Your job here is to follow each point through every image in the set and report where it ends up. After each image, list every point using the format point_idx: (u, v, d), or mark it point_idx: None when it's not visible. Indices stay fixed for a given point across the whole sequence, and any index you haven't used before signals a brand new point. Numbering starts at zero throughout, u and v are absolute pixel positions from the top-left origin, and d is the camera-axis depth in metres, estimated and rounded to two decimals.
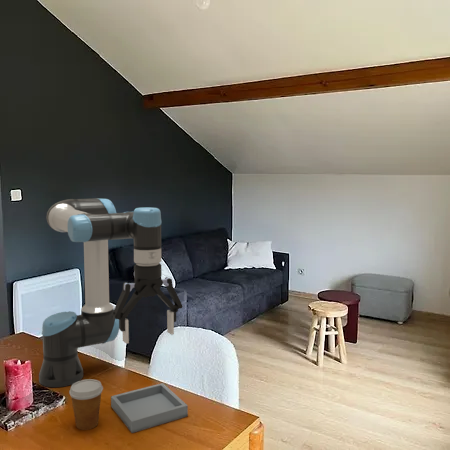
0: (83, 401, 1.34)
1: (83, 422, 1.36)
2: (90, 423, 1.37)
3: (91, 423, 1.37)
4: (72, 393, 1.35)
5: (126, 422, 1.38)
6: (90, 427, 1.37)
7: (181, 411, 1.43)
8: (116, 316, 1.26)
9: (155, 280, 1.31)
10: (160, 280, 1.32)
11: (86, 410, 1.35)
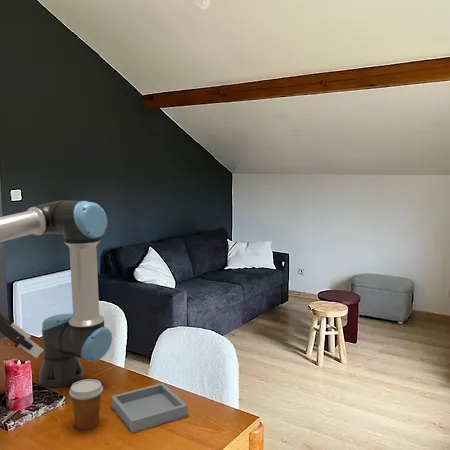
0: (83, 401, 1.34)
1: (83, 422, 1.36)
2: (90, 423, 1.37)
3: (91, 423, 1.37)
4: (72, 393, 1.35)
5: (126, 422, 1.38)
6: (90, 427, 1.37)
7: (181, 411, 1.43)
8: None
9: None
10: None
11: (86, 410, 1.35)
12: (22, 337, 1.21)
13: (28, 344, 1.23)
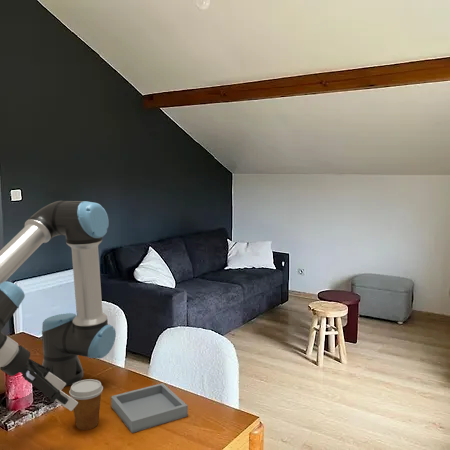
0: (83, 401, 1.34)
1: (83, 422, 1.36)
2: (90, 423, 1.37)
3: (91, 423, 1.37)
4: (72, 393, 1.35)
5: (126, 422, 1.38)
6: (90, 427, 1.37)
7: (181, 411, 1.43)
8: None
9: None
10: (23, 374, 1.24)
11: (86, 410, 1.35)
12: (58, 393, 1.23)
13: (63, 399, 1.26)
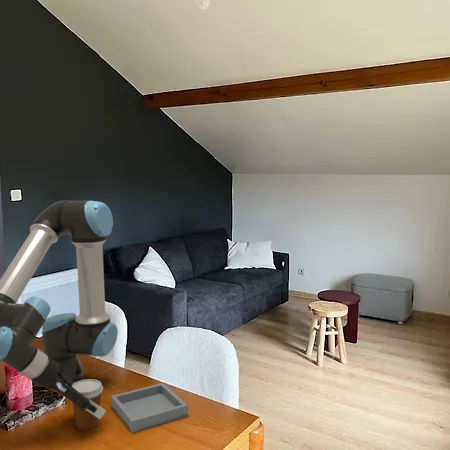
0: None
1: (83, 422, 1.36)
2: (90, 423, 1.37)
3: (91, 423, 1.37)
4: None
5: (126, 422, 1.38)
6: (90, 427, 1.37)
7: (181, 411, 1.43)
8: None
9: None
10: (53, 385, 1.29)
11: (86, 410, 1.35)
12: (88, 403, 1.30)
13: (93, 407, 1.33)
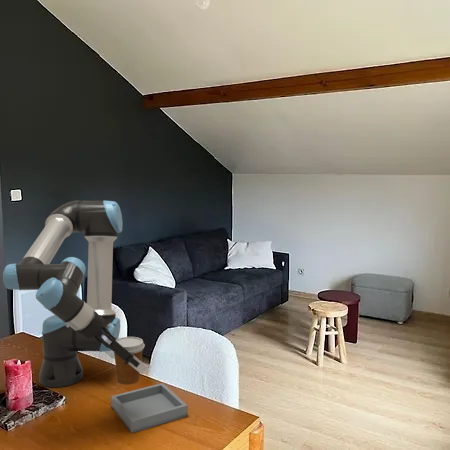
0: None
1: (125, 377, 1.38)
2: (132, 378, 1.39)
3: (132, 378, 1.39)
4: None
5: (126, 422, 1.38)
6: (132, 382, 1.39)
7: (181, 411, 1.43)
8: None
9: None
10: (98, 337, 1.32)
11: None
12: (132, 356, 1.33)
13: (136, 362, 1.35)
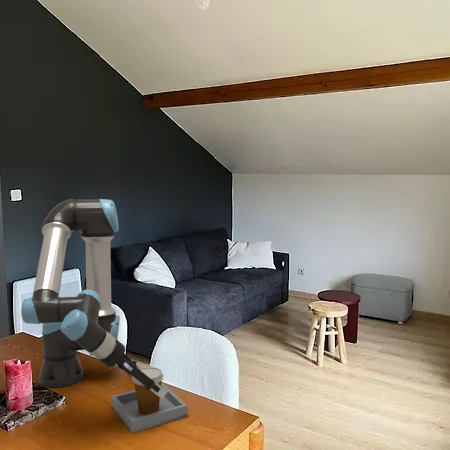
0: None
1: (146, 408, 1.43)
2: (153, 408, 1.44)
3: (153, 408, 1.44)
4: (136, 380, 1.42)
5: (126, 422, 1.38)
6: (153, 412, 1.44)
7: (181, 411, 1.43)
8: None
9: None
10: (120, 365, 1.37)
11: (150, 395, 1.42)
12: (153, 382, 1.36)
13: (157, 387, 1.39)
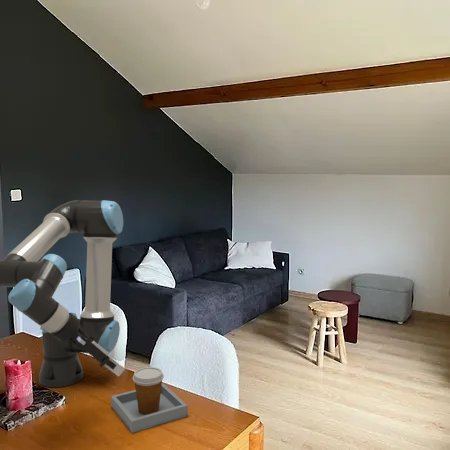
0: (147, 387, 1.41)
1: (146, 407, 1.43)
2: (153, 408, 1.44)
3: (153, 408, 1.44)
4: (136, 380, 1.42)
5: (126, 422, 1.38)
6: (152, 412, 1.44)
7: (181, 411, 1.43)
8: None
9: None
10: (73, 339, 1.29)
11: (150, 395, 1.42)
12: (108, 357, 1.28)
13: (112, 364, 1.30)
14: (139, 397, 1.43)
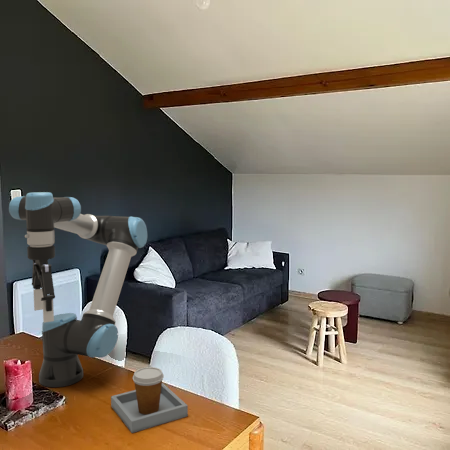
0: (147, 387, 1.41)
1: (146, 407, 1.43)
2: (153, 408, 1.44)
3: (153, 408, 1.44)
4: (136, 379, 1.42)
5: (126, 422, 1.38)
6: (152, 412, 1.44)
7: (181, 411, 1.43)
8: None
9: (38, 262, 1.36)
10: (40, 264, 1.35)
11: (150, 395, 1.42)
12: (54, 296, 1.32)
13: (50, 306, 1.33)
14: (139, 397, 1.43)
